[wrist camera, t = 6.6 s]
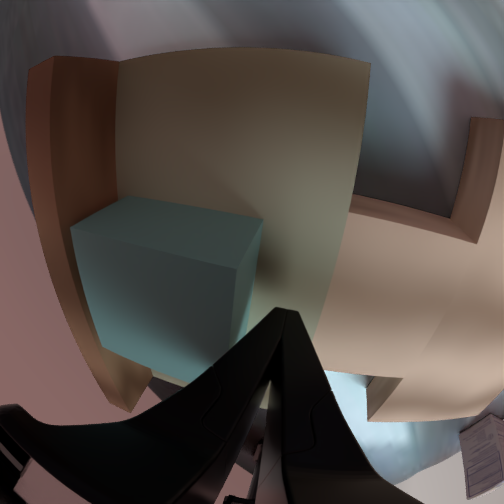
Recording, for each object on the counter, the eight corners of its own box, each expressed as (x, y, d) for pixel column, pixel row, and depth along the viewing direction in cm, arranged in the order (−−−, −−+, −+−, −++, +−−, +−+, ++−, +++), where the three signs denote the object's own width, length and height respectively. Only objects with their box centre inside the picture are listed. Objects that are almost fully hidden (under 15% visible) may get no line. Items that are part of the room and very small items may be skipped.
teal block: (245, 334, 11) (224, 393, 8) (139, 302, 11) (102, 346, 9) (263, 219, 8) (237, 269, 6) (128, 195, 9) (70, 227, 6)
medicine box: (457, 433, 16) (464, 501, 9) (492, 411, 14) (505, 481, 6) (478, 439, 17) (485, 495, 9) (507, 420, 14) (518, 477, 7)
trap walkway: (470, 389, 13) (484, 448, 8) (150, 341, 17) (109, 402, 12) (573, 187, 5) (631, 226, 1) (128, 73, 9) (28, 69, 4)
